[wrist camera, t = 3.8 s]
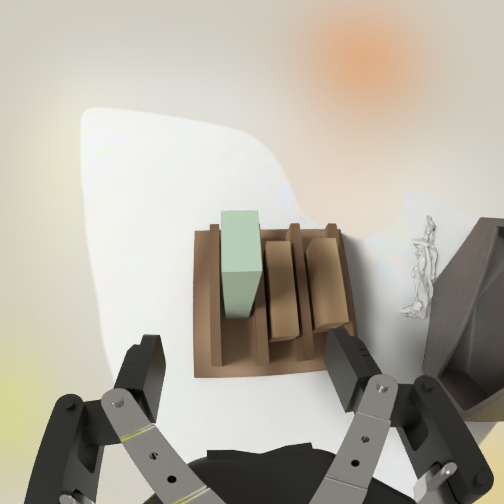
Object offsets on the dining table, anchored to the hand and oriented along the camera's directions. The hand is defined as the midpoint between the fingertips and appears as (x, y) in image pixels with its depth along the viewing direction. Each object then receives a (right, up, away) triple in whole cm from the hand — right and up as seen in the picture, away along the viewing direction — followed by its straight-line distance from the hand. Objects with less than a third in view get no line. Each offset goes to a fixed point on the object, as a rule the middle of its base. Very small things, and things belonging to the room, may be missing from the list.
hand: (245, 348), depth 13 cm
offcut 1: (+2, 0, +13) cm, 13 cm away
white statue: (+20, +3, +17) cm, 27 cm away
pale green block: (-1, 0, +13) cm, 13 cm away
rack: (+2, 0, +14) cm, 14 cm away
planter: (+23, -5, +14) cm, 27 cm away
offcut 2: (+6, 0, +13) cm, 15 cm away
